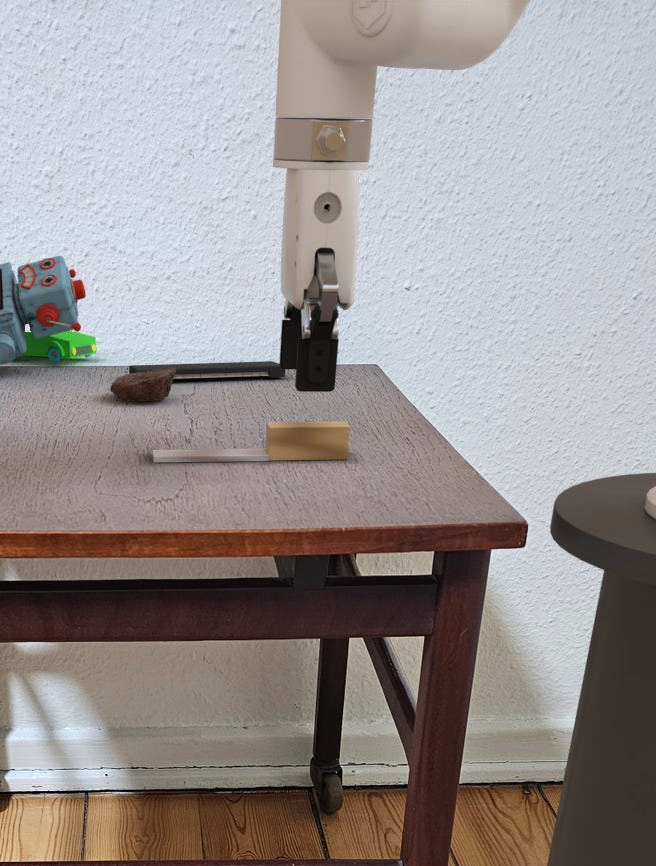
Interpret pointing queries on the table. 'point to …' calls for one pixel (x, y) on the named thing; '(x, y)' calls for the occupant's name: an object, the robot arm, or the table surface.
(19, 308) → the toy robot
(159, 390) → the stone
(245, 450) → the knife
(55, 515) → the table surface
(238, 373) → the dark grey flat bar
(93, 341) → the toy car
